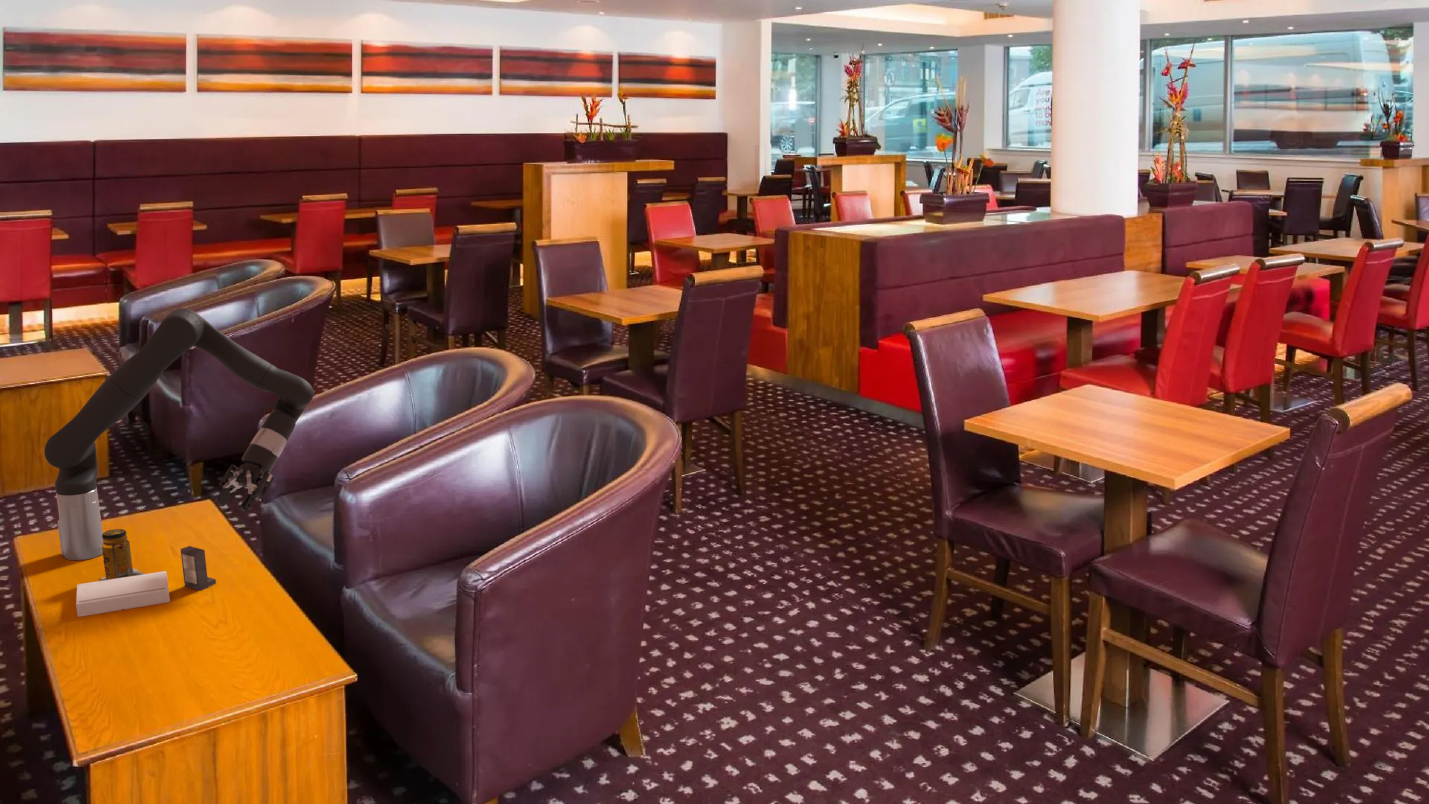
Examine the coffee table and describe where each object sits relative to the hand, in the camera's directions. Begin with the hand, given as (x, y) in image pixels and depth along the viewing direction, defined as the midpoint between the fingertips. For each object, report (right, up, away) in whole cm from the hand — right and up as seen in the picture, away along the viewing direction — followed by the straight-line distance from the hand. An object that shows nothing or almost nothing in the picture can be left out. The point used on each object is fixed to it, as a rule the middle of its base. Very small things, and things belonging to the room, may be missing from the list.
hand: (231, 507), depth 294 cm
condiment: (-26, -17, 0) cm, 31 cm away
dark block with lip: (-5, -18, -5) cm, 20 cm away
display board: (-20, -20, -13) cm, 31 cm away
